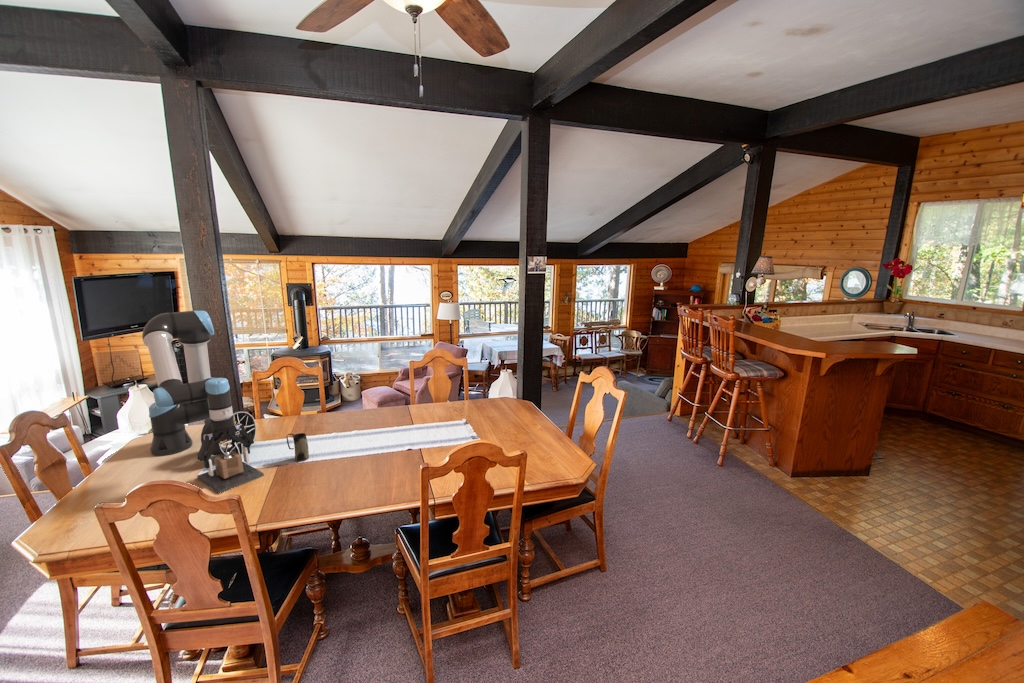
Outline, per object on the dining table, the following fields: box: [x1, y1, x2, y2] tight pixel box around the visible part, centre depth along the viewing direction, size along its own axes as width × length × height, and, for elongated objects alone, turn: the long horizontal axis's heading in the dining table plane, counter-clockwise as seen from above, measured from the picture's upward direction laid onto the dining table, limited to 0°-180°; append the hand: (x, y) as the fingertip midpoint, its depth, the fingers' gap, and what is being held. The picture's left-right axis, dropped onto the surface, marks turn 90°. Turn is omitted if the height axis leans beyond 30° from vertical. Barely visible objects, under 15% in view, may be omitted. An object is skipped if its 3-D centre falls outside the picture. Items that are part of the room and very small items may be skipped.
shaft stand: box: [196, 452, 265, 494], centre depth 169 cm, size 20×16×11 cm
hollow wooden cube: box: [213, 451, 244, 479], centre depth 169 cm, size 7×7×7 cm
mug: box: [286, 432, 310, 463], centre depth 184 cm, size 8×6×12 cm
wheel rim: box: [200, 411, 257, 456], centre depth 189 cm, size 20×9×20 cm, turn 168°
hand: (229, 468), depth 170 cm, fingers open, 12 cm apart
